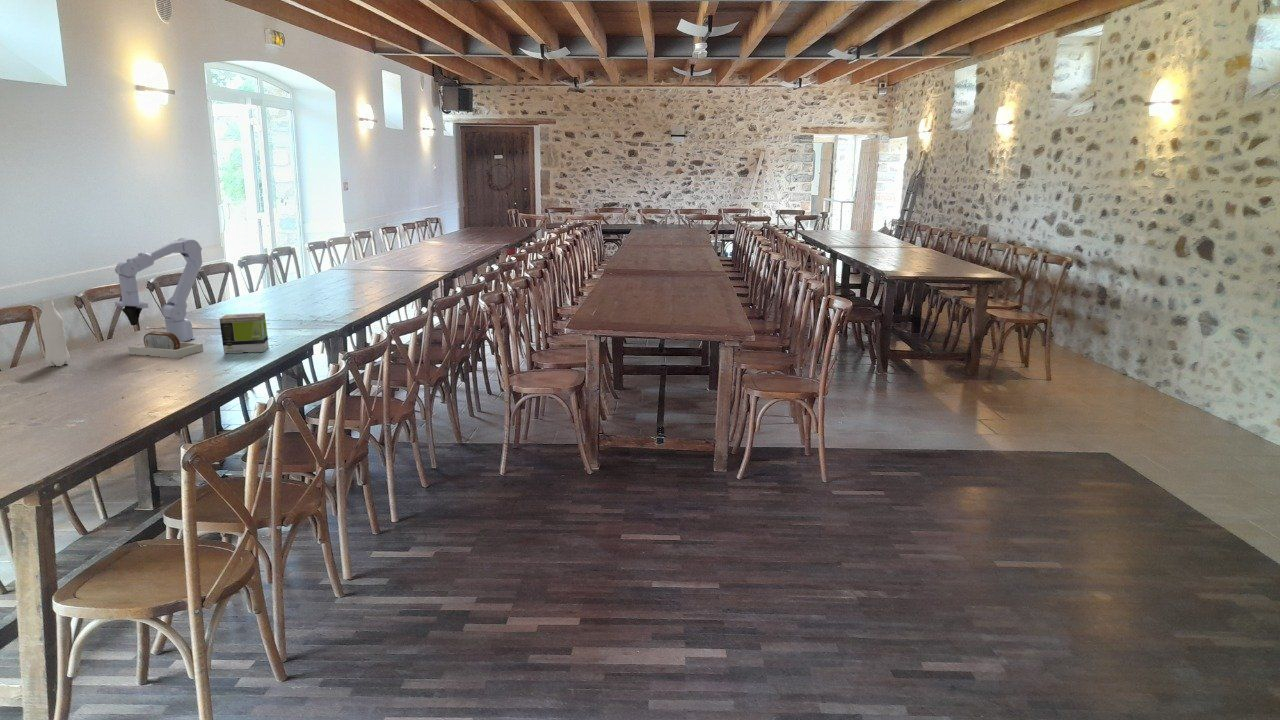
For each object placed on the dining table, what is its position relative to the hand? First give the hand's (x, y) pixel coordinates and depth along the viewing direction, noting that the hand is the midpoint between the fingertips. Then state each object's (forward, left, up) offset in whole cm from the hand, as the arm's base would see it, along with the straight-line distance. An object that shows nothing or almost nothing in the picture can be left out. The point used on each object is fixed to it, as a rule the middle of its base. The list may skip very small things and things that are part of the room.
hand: (134, 324), depth 310 cm
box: (+4, +18, -9) cm, 21 cm away
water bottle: (+32, -2, -10) cm, 33 cm away
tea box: (-8, +46, -10) cm, 48 cm away
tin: (+5, +17, -10) cm, 20 cm away
